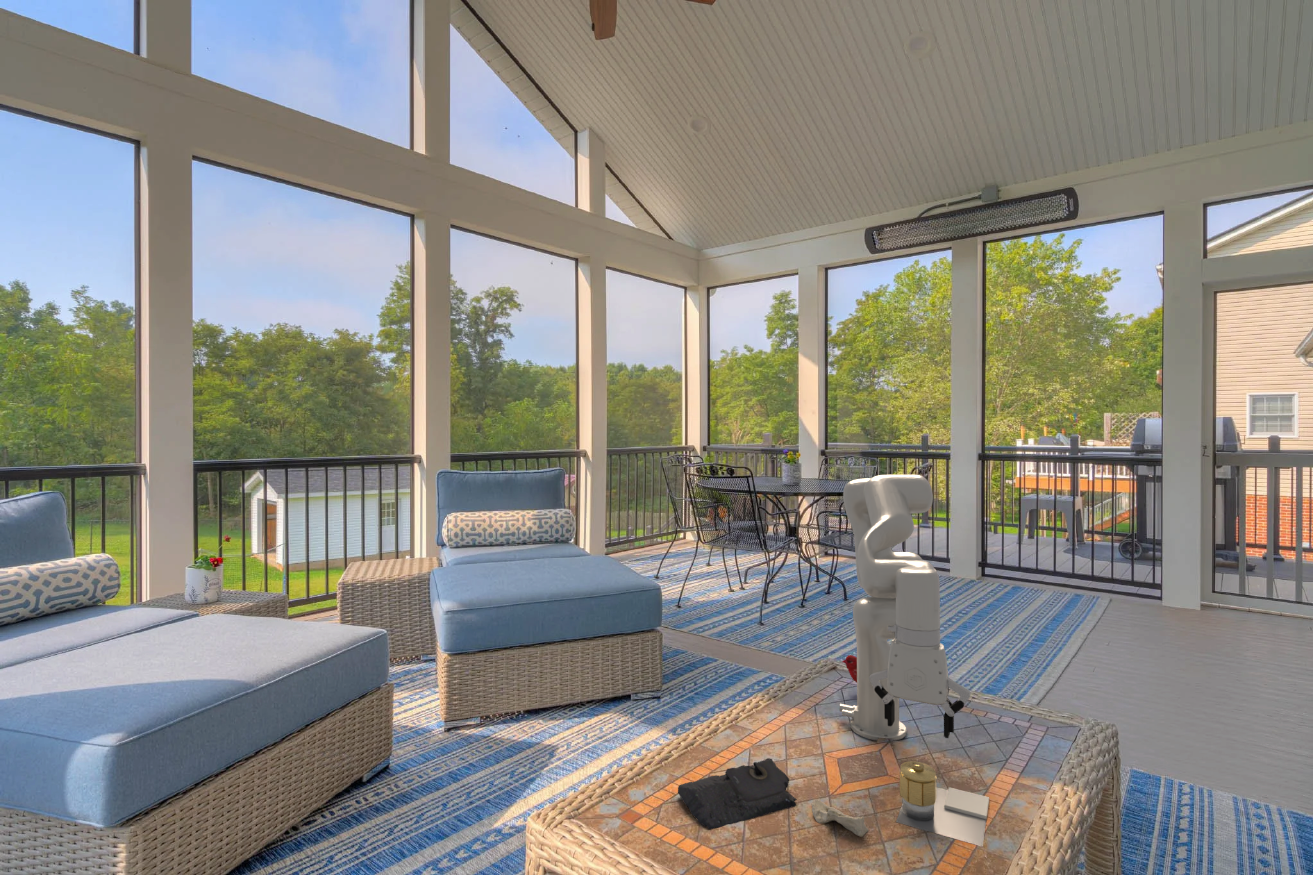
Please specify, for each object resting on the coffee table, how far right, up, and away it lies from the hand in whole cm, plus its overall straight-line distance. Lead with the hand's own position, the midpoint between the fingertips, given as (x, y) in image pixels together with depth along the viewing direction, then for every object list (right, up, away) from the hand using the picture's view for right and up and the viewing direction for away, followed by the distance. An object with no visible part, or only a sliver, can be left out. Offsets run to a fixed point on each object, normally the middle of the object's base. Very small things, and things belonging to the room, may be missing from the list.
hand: (918, 729), depth 119 cm
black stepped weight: (-33, -18, +8) cm, 38 cm away
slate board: (+5, -17, +1) cm, 17 cm away
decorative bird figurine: (+11, -16, +57) cm, 60 cm away
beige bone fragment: (-15, -17, -2) cm, 23 cm away
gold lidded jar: (0, -13, +1) cm, 13 cm away
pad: (+10, -16, +3) cm, 19 cm away
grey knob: (0, -16, +1) cm, 16 cm away
